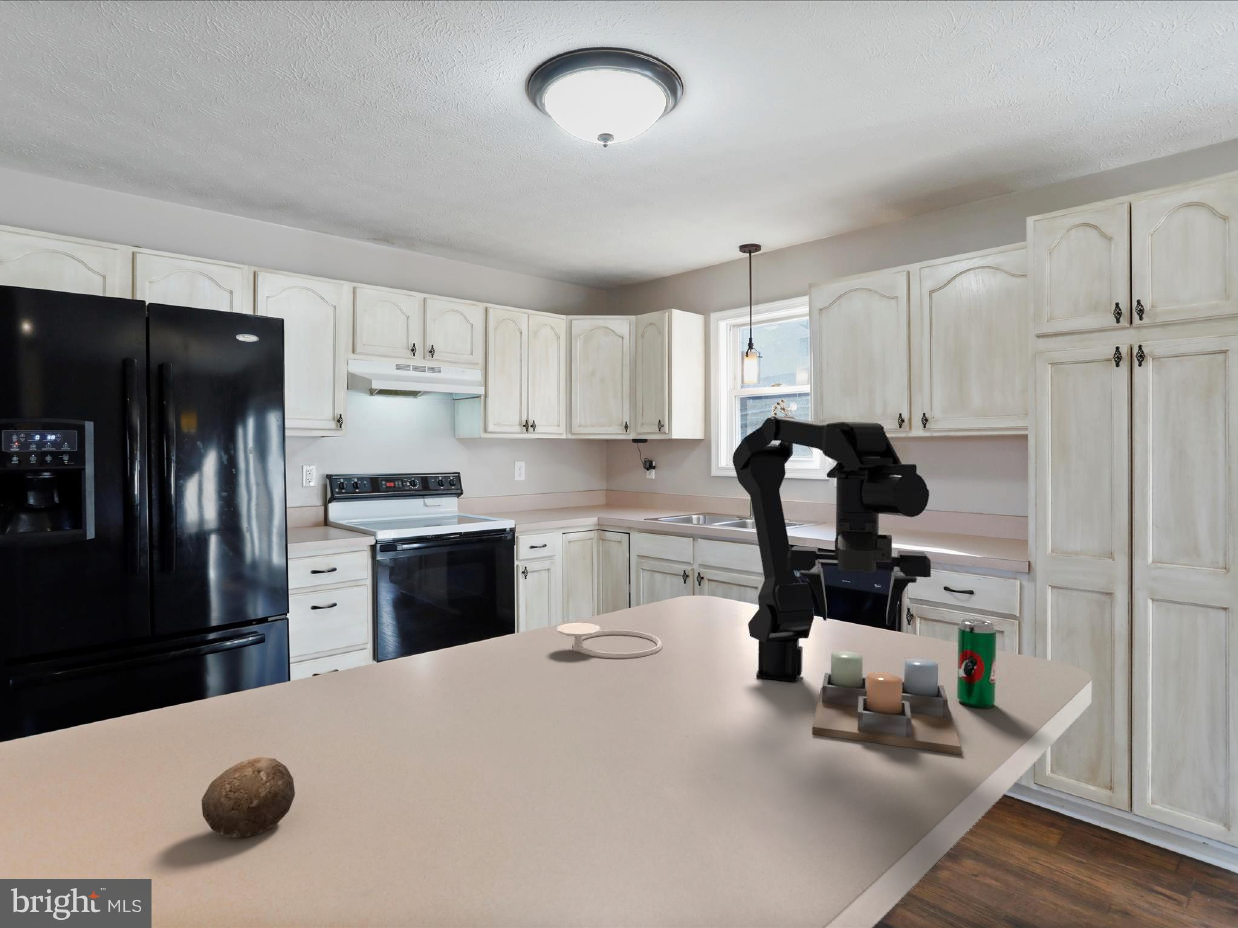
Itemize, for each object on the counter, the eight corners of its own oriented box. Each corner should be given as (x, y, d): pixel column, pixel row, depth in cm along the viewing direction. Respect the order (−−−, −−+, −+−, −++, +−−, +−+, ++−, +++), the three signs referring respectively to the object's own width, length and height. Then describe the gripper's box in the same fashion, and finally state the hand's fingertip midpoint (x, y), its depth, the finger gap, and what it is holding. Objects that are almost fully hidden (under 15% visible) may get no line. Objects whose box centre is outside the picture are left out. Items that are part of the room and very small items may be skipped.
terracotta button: (866, 711, 93) (866, 681, 93) (866, 700, 97) (866, 671, 97) (902, 716, 91) (903, 685, 91) (901, 704, 95) (901, 674, 95)
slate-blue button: (904, 694, 100) (905, 665, 99) (903, 684, 104) (903, 656, 104) (938, 697, 98) (939, 669, 98) (936, 688, 102) (936, 660, 102)
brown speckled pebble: (231, 768, 75) (237, 732, 72) (303, 794, 76) (313, 760, 73) (181, 840, 68) (186, 804, 65) (261, 868, 69) (270, 834, 66)
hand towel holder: (679, 630, 131) (573, 642, 122) (678, 654, 131) (573, 667, 122) (638, 610, 146) (542, 619, 138) (638, 632, 146) (542, 642, 138)
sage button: (829, 685, 103) (830, 658, 103) (831, 676, 107) (831, 650, 107) (862, 689, 101) (862, 661, 101) (862, 679, 106) (862, 653, 105)
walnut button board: (812, 734, 93) (812, 708, 93) (820, 693, 109) (821, 671, 109) (960, 754, 87) (961, 726, 87) (947, 708, 103) (947, 685, 103)
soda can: (999, 710, 102) (1001, 627, 102) (961, 707, 103) (963, 625, 103) (989, 698, 107) (990, 619, 107) (952, 695, 108) (954, 617, 108)
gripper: (783, 513, 95) (782, 630, 96) (935, 518, 90) (934, 642, 90) (791, 508, 106) (790, 612, 106) (927, 511, 100) (926, 622, 100)
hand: (856, 622), depth 100 cm, fingers open, 8 cm apart
